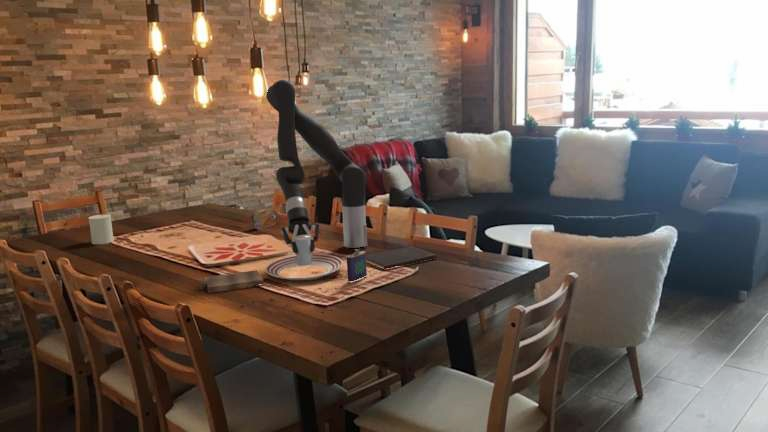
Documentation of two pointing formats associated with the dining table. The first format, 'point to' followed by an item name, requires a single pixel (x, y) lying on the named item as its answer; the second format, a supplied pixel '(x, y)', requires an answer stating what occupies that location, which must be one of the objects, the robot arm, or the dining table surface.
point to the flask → (356, 265)
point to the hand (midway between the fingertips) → (304, 251)
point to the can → (101, 229)
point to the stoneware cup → (303, 249)
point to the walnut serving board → (231, 281)
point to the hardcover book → (399, 257)
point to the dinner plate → (317, 259)
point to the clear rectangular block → (263, 219)
